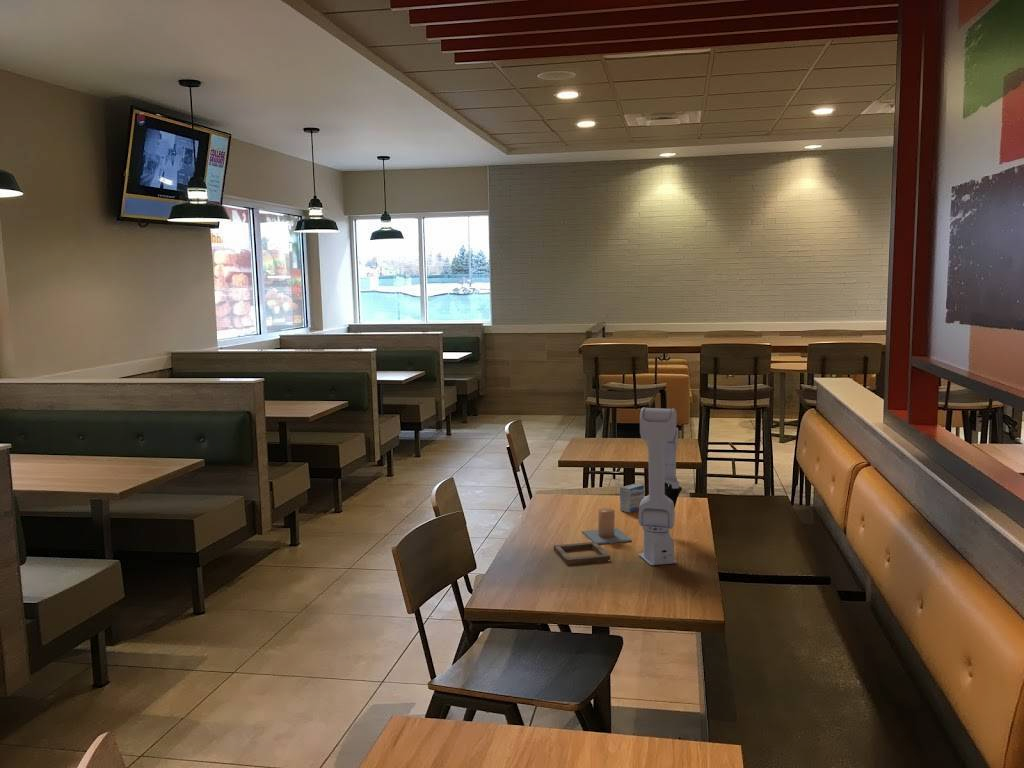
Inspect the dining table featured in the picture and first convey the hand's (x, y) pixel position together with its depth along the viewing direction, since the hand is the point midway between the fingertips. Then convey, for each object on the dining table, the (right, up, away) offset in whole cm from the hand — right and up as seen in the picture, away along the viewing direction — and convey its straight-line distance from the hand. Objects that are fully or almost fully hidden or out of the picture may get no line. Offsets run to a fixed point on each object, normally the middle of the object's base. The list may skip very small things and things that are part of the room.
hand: (666, 505), depth 257 cm
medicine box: (-7, -6, +28) cm, 30 cm away
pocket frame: (-28, -12, -18) cm, 35 cm away
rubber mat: (-19, -10, -1) cm, 21 cm away
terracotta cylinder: (-19, -9, -2) cm, 21 cm away
